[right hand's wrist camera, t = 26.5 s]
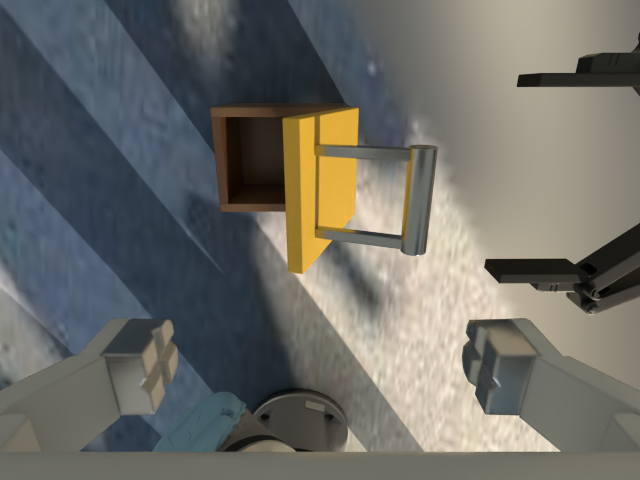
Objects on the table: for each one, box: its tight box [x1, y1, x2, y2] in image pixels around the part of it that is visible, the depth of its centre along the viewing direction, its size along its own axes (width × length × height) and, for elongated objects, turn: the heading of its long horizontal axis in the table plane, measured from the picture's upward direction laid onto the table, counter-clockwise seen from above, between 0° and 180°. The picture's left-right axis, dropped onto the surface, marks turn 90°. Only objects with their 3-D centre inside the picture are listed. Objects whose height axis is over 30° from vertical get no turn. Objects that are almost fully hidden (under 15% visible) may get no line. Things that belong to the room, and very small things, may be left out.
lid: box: [283, 107, 438, 274], centre depth 27 cm, size 13×10×8 cm
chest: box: [210, 103, 351, 212], centre depth 39 cm, size 12×10×9 cm
